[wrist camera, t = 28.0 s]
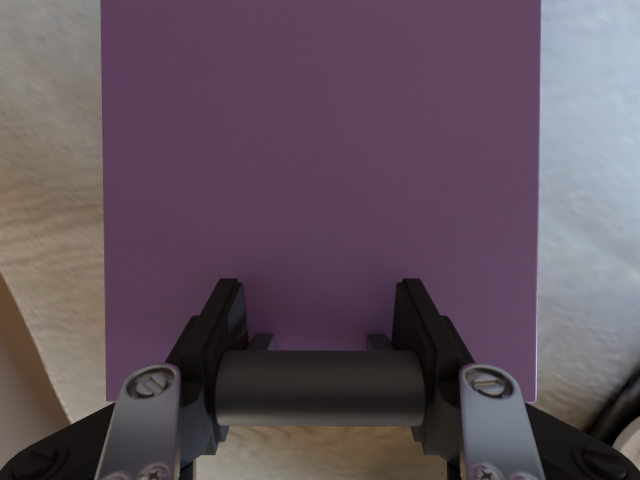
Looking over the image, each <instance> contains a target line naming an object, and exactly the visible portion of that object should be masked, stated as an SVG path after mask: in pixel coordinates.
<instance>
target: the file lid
mask: <svg viewBox="0 0 640 480" xmlns="http://www.w3.org/2000/svg"><path fill="white" fill-rule="evenodd" d="M540 41H541V0H101V60H102V130H103V201H104V272H105V342H106V401H107V402H116V400H117V397H118V393H119V389H120V387H121V385H122V383H123V381H124V380H125V379H126V378H127V377H128V376H129V375H130V374H131V373H133V372H134V371H136V370H137V369H139V368H142V367H144V366H146V365H150V364H154V363H164V362H165V361H166V359H167V357H168V355H169V354H170V352H171V350H172V349H173V347H174V345H175V343H176V342H177V340H178V338H179V337H180V335H181V333H182V332H183V330H184V328H185V326H186V325H187V323H188V321H189V320H190V318H191V317H192V316H194V315H200V313H201V311H202V310H203V308H204V306H205V304H206V302H207V301H208V299H209V297H210V295H211V293H212V292H213V290H214V288H215V286H216V284H217V283H218V281H219V279H220V278H237V279H238V282H243V284H244V294H245V306H246V317H247V329H248V341H249V345H248V347H247V348H246V350H228V351H225V352H224V353H223V355H222V357H221V359H220V362H219V365H218V369H217V373H216V379H215V387H214V412H215V418H216V421H217V423H218V424H219V425H221V426H420V425H422V424H423V422H424V418H425V413H426V387H425V379H424V373H423V369H422V365H421V362H420V359H419V357H418V355H417V353H416V352H415V351H412V350H395V349H394V347H393V345H392V344H391V339H392V328H393V316H394V304H395V293H396V284H397V282H402V279H403V278H420V279H421V281H422V283H423V285H424V286H425V288H426V290H427V292H428V294H429V295H430V297H431V299H432V301H433V303H434V304H435V306H436V308H437V310H438V312H439V314H440V315H446V316H448V317H449V318H450V320H451V321H452V323H453V325H454V327H455V328H456V330H457V332H458V333H459V335H460V337H461V339H462V340H463V342H464V344H465V345H466V347H467V349H468V350H469V352H470V354H471V356H472V357H473V359H474V361H475V362H476V363H486V364H490V365H494V366H496V367H498V368H501V369H503V370H504V371H506V372H507V373H509V374H510V375H511V376H512V377H513V378H514V379H515V380H516V381H517V383H518V385H519V387H520V389H521V393H522V397H523V400H524V402H525V403H535V402H536V385H537V299H538V213H539V127H540Z"/></svg>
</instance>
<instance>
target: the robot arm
mask: <svg viewBox="0 0 640 480" xmlns="http://www.w3.org/2000/svg"><path fill="white" fill-rule="evenodd" d="M391 344H392V345H393V347H394V349H395V350H412V351H415V352H416V353H417V355H418V357H419V359H420V362H421V365H422V369H423V373H424V379H425V387H426V413H425V418H424V422H423V424H422V425H420V426H411V430H412V434H413V437H414V440H415V441H416V442H421V444H422V448H423V451H424V454H425V455H439V456H441V457H442V458H444V480H640V416H639V417H638V418H636V419H635V420H633V421H632V422H631V423H630V424H629V425H628V426H627V427H625V428H624V429H623V431H622V432H621V433H620V434H619V436H618V437H617V438H616V440H615V442H614V444H613V446H612V447H611V446H609V445H608V444H606V443H604V442H602V441H600V440H598V439H596V438H594V437H592V436H590V435H588V434H586V433H584V432H582V431H580V430H578V429H576V428H574V427H572V426H570V425H568V424H567V423H565V422H563V421H561V420H559V419H557V418H555V417H553V416H551V415H549V414H547V413H545V412H543V411H541V410H539V409H537V408H535V407H533V406H531V405H529V404H527V403H525V402H524V400H523V397H522V393H521V389H520V387H519V385H518V383H517V381H516V380H515V379H514V378H513V377H512V376H511V375H510V374H509V373H507V372H506V371H504V370H503V369H501V368H498V367H496V366H494V365H490V364H486V363H476V362H475V361H474V359H473V357H472V356H471V354H470V352H469V350H468V349H467V347H466V345H465V344H464V342H463V340H462V339H461V337H460V335H459V333H458V332H457V330H456V328H455V327H454V325H453V323H452V321H451V320H450V318H449V317H448V316H446V315H440V314H439V312H438V310H437V308H436V306H435V304H434V303H433V301H432V299H431V297H430V295H429V294H428V292H427V290H426V288H425V286H424V285H423V283H422V281H421V279H420V278H403V279H402V282H397V284H396V293H395V304H394V316H393V328H392V339H391ZM248 345H249V341H248V329H247V317H246V306H245V294H244V284H243V282H238V279H237V278H220V279H219V281H218V283H217V284H216V286H215V288H214V290H213V292H212V293H211V295H210V297H209V299H208V301H207V302H206V304H205V306H204V308H203V310H202V311H201V313H200V315H194V316H192V317H191V318H190V320H189V321H188V323H187V325H186V326H185V328H184V330H183V332H182V333H181V335H180V337H179V338H178V340H177V342H176V343H175V345H174V347H173V349H172V350H171V352H170V354H169V355H168V357H167V359H166V361H165V362H164V363H154V364H150V365H146V366H144V367H142V368H139V369H137V370H136V371H134V372H133V373H131V374H130V375H129V376H128V377H127V378H126V379H125V380H124V381H123V383H122V385H121V387H120V389H119V393H118V397H117V400H116V402H114V403H112V404H111V405H109V406H107V407H105V408H103V409H101V410H99V411H97V412H95V413H93V414H91V415H89V416H87V417H85V418H83V419H81V420H79V421H77V422H75V423H73V424H71V425H69V426H68V427H66V428H64V429H62V430H60V431H58V432H56V433H54V434H52V435H50V436H48V437H46V438H44V439H42V440H40V441H38V442H36V443H34V444H32V445H30V446H29V447H27V448H25V449H24V450H22V451H21V452H19V453H18V454H17V455H15V456H14V457H13V458H12V459H11V460H9V461H8V462H7V463H6V465H5V466H4V467H3V468H2V469H1V470H0V480H196V458H198V457H199V456H200V455H215V454H216V451H217V447H218V444H219V442H224V441H225V440H226V437H227V433H228V430H229V426H221V425H219V424H218V423H217V421H216V418H215V412H214V387H215V379H216V373H217V369H218V365H219V362H220V359H221V357H222V355H223V353H224V352H225V351H228V350H246V348H247V347H248Z"/></svg>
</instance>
